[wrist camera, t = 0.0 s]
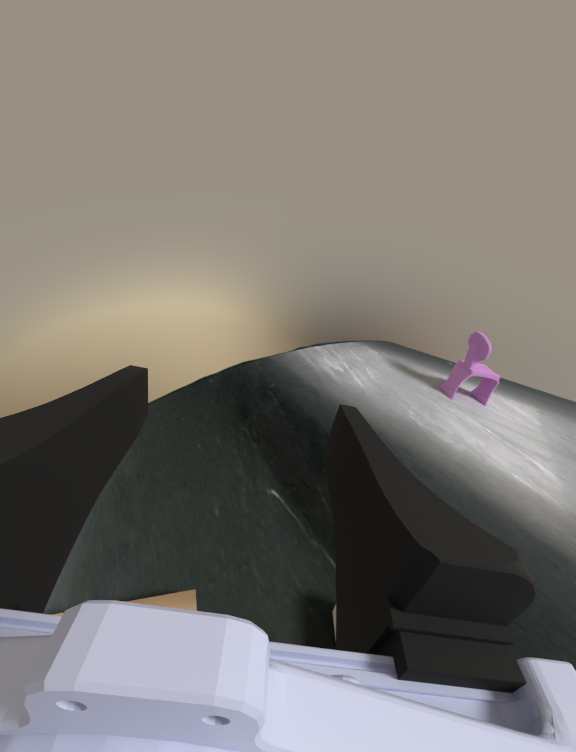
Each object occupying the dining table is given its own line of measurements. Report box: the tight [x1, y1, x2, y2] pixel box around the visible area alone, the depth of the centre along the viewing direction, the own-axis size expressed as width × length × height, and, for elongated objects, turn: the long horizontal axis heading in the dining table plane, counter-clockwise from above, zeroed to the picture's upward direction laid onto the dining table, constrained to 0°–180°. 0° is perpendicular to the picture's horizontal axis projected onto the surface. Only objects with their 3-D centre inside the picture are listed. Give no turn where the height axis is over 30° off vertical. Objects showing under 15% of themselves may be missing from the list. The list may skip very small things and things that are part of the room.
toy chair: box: [440, 332, 500, 406], centre depth 74 cm, size 8×9×15 cm
